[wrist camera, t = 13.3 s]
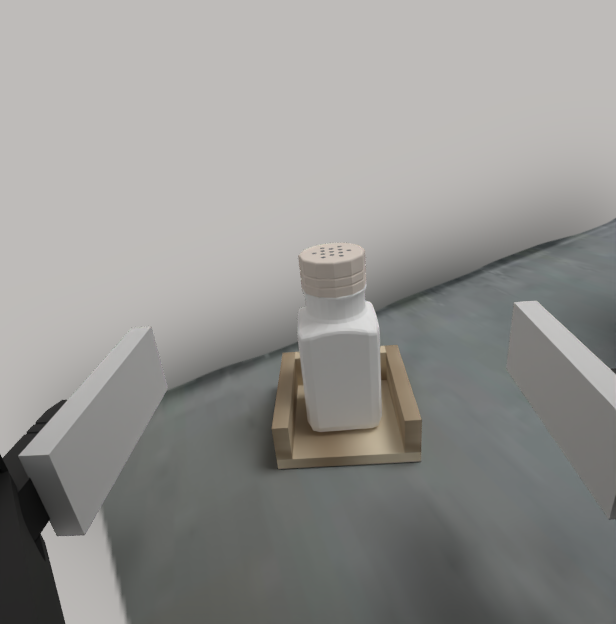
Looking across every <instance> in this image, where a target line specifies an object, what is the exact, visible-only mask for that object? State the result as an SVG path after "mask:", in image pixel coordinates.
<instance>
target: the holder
mask: <svg viewBox="0 0 616 624" xmlns="http://www.w3.org/2000/svg"><path fill="white" fill-rule="evenodd" d="M380 364H381V399H382V417H381V420H380V422H379V425H378V426H376V427H374V428H367V429H354V430H341V431H328V432H317V431H313V429H312V427H311V426H310V424H309V423H308V420H307V411H306V403H305V394H304V386H303V378H302V369H301V361H300V352H290V353H283V355H282V362H281V369H280V375H279V382H278V389H277V396H276V402H275V409H274V416H273V422H272V435H273V441H274V447H275V453H276V459H277V465H278V469H288V468H307V467H325V466H344V465H362V464H381V463H400V462H418V461H421V433H422V419H421V416H420V413H419V410H418V407H417V404H416V401H415V398H414V395H413V391H412V388H411V385H410V382H409V379H408V376H407V373H406V370H405V367H404V364H403V361H402V358H401V355H400V352H399V349H398V345H390V346H380Z"/></svg>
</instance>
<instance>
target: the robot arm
mask: <svg viewBox="0 0 616 624" xmlns="http://www.w3.org/2000/svg"><path fill="white" fill-rule="evenodd" d="M506 369H507V371H508V372H509V374H510V375H511V377H512V378H513V380H514V381H515V383H516V384H517V386H518V387H519V388H520V390H521V391H522V393H523V394H524V396H525V397H526V399H527V400H528V402H529V403H530V405H531V406H532V408H533V409H534V410H535V412H536V413H537V415H538V416H539V418H540V419H541V421H542V422H543V424H544V425H545V427H546V428H547V430H548V431H549V432H550V434H551V435H552V437H553V438H554V440H555V441H556V443H557V444H558V446H559V447H560V449H561V450H562V452H563V453H564V454H565V456H566V457H567V459H568V460H569V462H570V463H571V465H572V466H573V468H574V469H575V471H576V472H577V474H578V475H579V476H580V478H581V479H582V481H583V482H584V484H585V485H586V487H587V488H588V490H589V491H590V493H591V494H592V496H593V497H594V499H595V500H596V501H597V503H598V504H599V506H600V507H601V509H602V510H603V512H604V513H605V515H606V516H607V518H608V519H616V369H609V368H608V367H607V366H606V365H605V364H604V363H603V362H602V361H601V360H600V359H599V358H598V357H597V356H595V355H594V354H593V353H592V352H591V351H590V350H589V349H588V348H587V347H586V346H585V345H584V344H583V343H581V342H580V341H579V340H578V339H577V338H576V337H575V336H574V335H573V334H572V333H571V332H570V331H569V330H568V329H566V328H565V327H564V326H563V325H562V324H561V323H560V322H559V321H558V320H557V319H556V318H555V317H554V316H552V315H551V314H550V313H549V312H548V311H547V310H546V309H545V308H544V307H543V306H542V305H541V304H540V303H538V302H537V301H525V302H514V306H513V315H512V323H511V332H510V341H509V349H508V358H507V367H506ZM167 389H168V386H167V382H166V378H165V375H164V371H163V367H162V364H161V360H160V356H159V353H158V349H157V346H156V342H155V338H154V335H153V331H152V327H137V328H131V329H130V330H129V331H128V333H126V335H125V336H124V337H123V338H122V339H121V340H120V342H119V343H118V344H117V345H116V346H115V347H114V348H113V350H111V352H110V353H109V354H108V355H107V356H106V357H105V358H104V360H103V361H102V362H101V363H100V364H99V365H98V366H97V367H96V369H95V370H94V371H93V372H92V373H91V374H90V375H89V376H88V378H87V379H86V380H85V381H84V382H83V383H82V384H81V386H80V387H79V388H78V389H77V390H76V391H75V392H74V393H73V395H72V396H71V397H70V398H69V399H68V400H62V401H60V402H59V403H57V404H56V405H54V406H53V407H51V408H50V409H48V410H47V411H46V412H45V413H44V414H43V415H42V416H41V417H40V418H39V419H38V420H37V421H36V424H35V425H33V426H32V427H31V428H30V429H29V430H28V431H27V434H26V435H24V436H23V437H22V438H21V439H20V440H19V441H18V442H17V443H16V444H15V445H14V447H12V449H11V450H10V451H9V452H8V453H7V454H6V455H5V456H4V457H3V458H2V457H1V455H0V624H65V620H64V617H63V612H62V609H61V605H60V601H59V597H58V593H57V589H56V585H55V581H54V577H53V573H52V569H51V565H50V561H49V557H48V553H47V549H46V545H45V542H44V540H43V538H42V536H41V534H40V533H41V532H42V530H43V528H44V527H45V526H46V524H47V523H48V521H50V523H51V525H52V527H53V529H54V531H55V533H56V535H57V536H74V535H85V534H86V532H87V530H88V528H89V527H90V525H91V523H92V522H93V520H94V518H95V516H96V514H97V513H98V511H99V509H100V507H101V506H102V504H103V502H104V500H105V499H106V497H107V495H108V493H109V491H110V490H111V488H112V486H113V484H114V483H115V481H116V479H117V477H118V476H119V474H120V472H121V470H122V468H123V467H124V465H125V463H126V461H127V460H128V458H129V456H130V454H131V453H132V451H133V449H134V447H135V446H136V444H137V442H138V440H139V438H140V437H141V435H142V433H143V431H144V430H145V428H146V426H147V424H148V423H149V421H150V419H151V417H152V415H153V414H154V412H155V410H156V408H157V407H158V405H159V403H160V401H161V400H162V398H163V396H164V394H165V392H166V391H167Z"/></svg>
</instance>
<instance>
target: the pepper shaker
mask: <svg viewBox="0 0 616 624" xmlns="http://www.w3.org/2000/svg"><path fill="white" fill-rule="evenodd" d="M298 257H299V267H300V270H301V271H300V275H301V284H302V291H303V294H304V295H305V304H306V306H304V307H301V308H300V309H299V311H298V322H297V327H298V328H297V331H298V332H297V333H298V344H299V352H300V361H301V369H302V378H303V386H304V394H305V403H306V411H307V420H308V423H309V424H310V426H311V427H312V429H313V431H317V432H328V431H341V430H354V429H367V428H374V427H376V426H378V425H379V422H380V420H381V417H382V399H381V364H380V329H379V324H378V320H377V317H376V313H375V310H374V308H373V305H372V304H371V302H367V301H365V289H366V274H365V273H366V266H365V264H366V263H365V262H366V261H365V250H364V249H363V248H362V247H360V246H359V245H355V244H349V243H327V244H321V245H316V246H313V247H310V248H308V249H305V250H303V251H302V252H301V254H300V255H299V256H298Z"/></svg>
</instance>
